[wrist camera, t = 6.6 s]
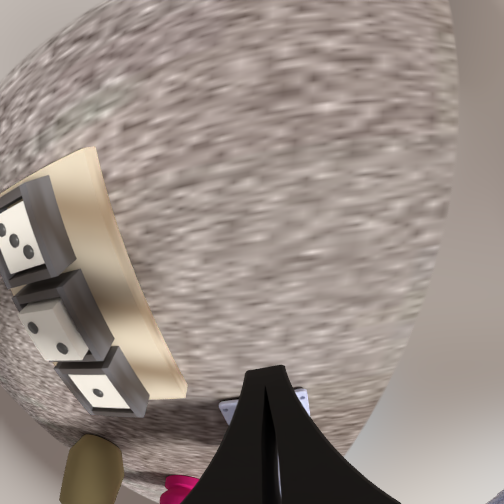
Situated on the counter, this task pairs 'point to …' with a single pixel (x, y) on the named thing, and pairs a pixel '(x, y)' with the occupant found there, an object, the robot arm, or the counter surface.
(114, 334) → the tile board
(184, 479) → the pepper mill
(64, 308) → the tile two
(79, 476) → the squeeze bottle
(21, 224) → the tile three
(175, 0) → the counter surface
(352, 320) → the counter surface
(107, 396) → the tile one
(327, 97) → the counter surface
